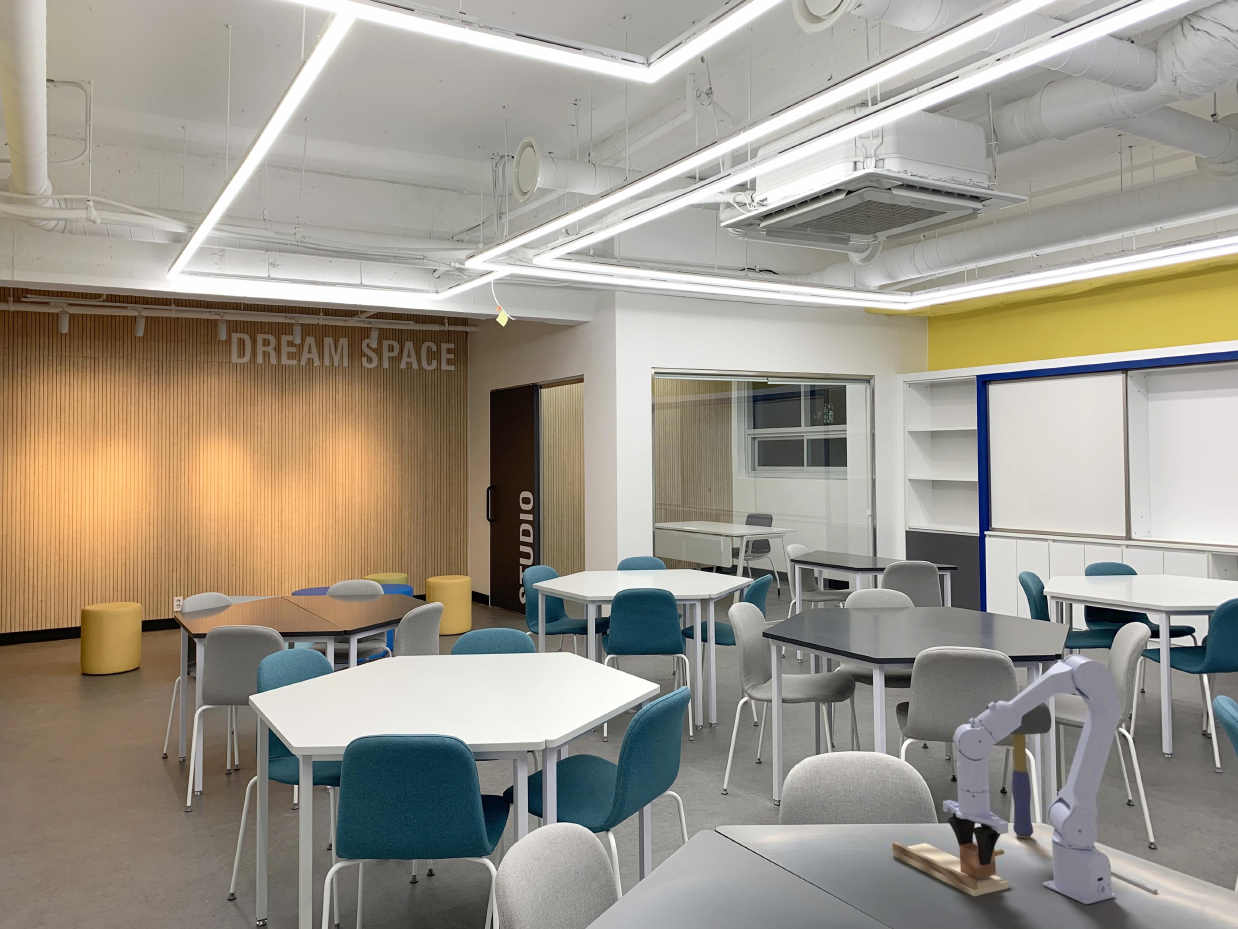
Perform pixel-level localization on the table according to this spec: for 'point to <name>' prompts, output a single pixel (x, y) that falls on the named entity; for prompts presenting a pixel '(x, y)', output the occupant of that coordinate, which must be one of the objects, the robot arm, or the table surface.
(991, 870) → the brown wooden block
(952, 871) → the board
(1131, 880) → the pale grey thin rod
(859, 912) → the table surface
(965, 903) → the table surface
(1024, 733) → the rubber mallet
